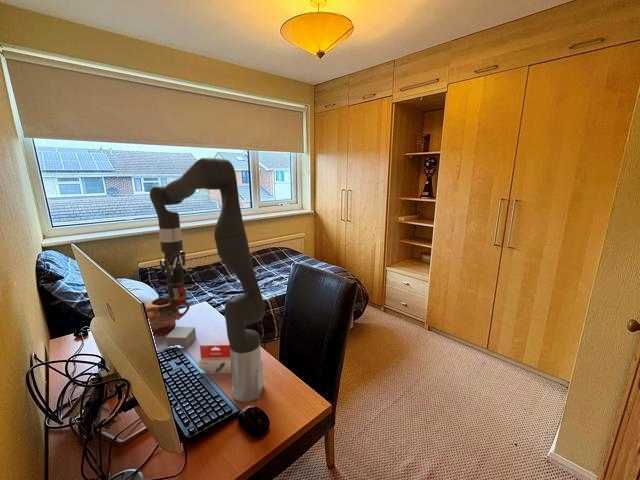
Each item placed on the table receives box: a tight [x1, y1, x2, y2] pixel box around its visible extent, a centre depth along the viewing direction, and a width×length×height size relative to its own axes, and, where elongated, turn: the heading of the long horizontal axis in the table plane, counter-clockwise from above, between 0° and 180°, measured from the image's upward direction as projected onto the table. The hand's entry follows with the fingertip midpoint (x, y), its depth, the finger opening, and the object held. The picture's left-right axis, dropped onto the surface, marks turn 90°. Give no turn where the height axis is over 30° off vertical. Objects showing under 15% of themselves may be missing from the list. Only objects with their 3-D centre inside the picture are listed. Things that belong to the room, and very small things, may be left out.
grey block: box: [165, 326, 197, 350], centre depth 118 cm, size 8×8×5 cm
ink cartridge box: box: [198, 344, 231, 374], centre depth 101 cm, size 2×11×10 cm, turn 93°
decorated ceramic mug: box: [145, 296, 191, 336], centre depth 127 cm, size 20×12×14 cm, turn 131°
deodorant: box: [165, 265, 187, 307], centre depth 113 cm, size 6×6×15 cm
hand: (175, 280), depth 112 cm, fingers closed on deodorant, 6 cm apart
